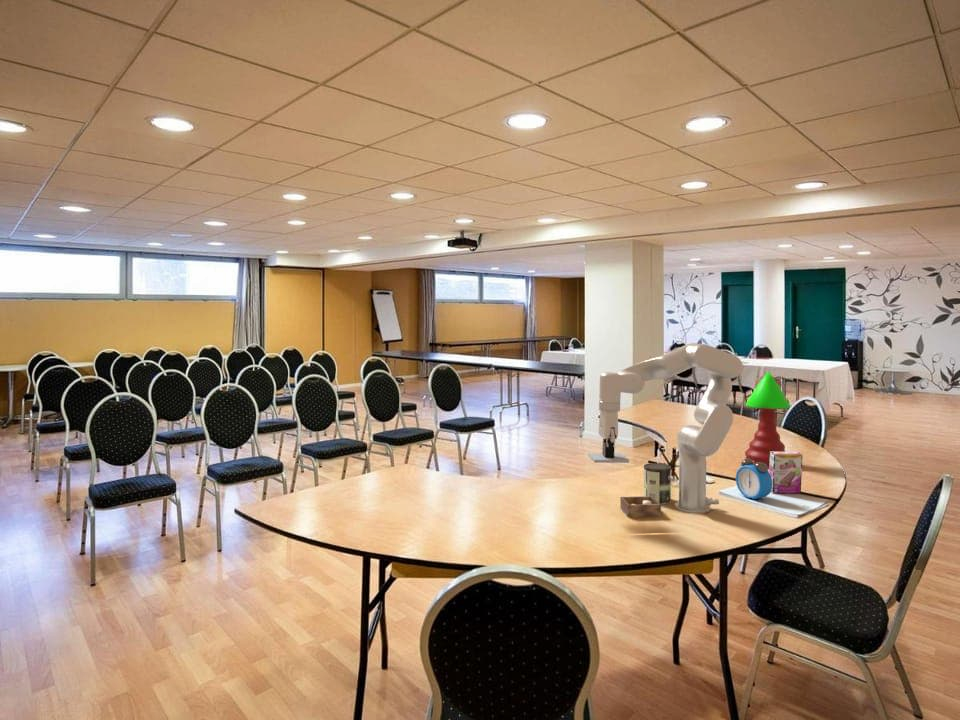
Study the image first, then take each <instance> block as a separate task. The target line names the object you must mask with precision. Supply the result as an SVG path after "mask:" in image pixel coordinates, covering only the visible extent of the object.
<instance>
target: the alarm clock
mask: <svg viewBox="0 0 960 720" xmlns="http://www.w3.org/2000/svg"><path fill="white" fill-rule="evenodd" d="M744 459H745V458H744ZM744 459H743V460H742V461H741V462H740V467H739V468H738V470H737V472H736V474H735V485H736V487H737V489H738V490H739V492H740V494H742V495H744V496H743V497H745V496H746V497H745V498H747V497H749V498H752V499H751V500H755V499H757V500H758V499H761V498H766V497H768V496H769V495H770V494H771V493H772V492H771V490H772V478H771V475H770V473H769V468H768V467H767V465H766V464H764V463H762V462H758V463H756V464H753V463H755V462H754V461H753V460H751V459H745V460H744ZM750 464H751V465H750ZM749 498H748V499H749Z"/></svg>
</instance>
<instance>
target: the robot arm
mask: <svg viewBox="0 0 960 720" xmlns="http://www.w3.org/2000/svg"><path fill="white" fill-rule="evenodd" d="M695 367H696V368H701V369H703V370H705V371H706V373H707V378H708V382H707V383H708V385H707V387H706V389H705V392H704V393H703V394H702V397H701V399H700V400H699V402H698V404H697V406H696V407H695V409H694V413H693V418H694V420H696V422H697V423H699V425H702V426H701V427H700V426H698V425H693V424H688V425H685V426H683V427H681V428H680V429H679V431H678V433H677V440H676V441H677V442H676V443H677V448H678V460H679V461H678V462H679V468H678V472H679V473H678V476H679V477H678V478H679V479H678V482H679V483H678V501H676V502H675V503H674V508H676V509H677V510H678V511H681V512H685V513H691V514H692V513H693V514H707V513H710V511H711V505H719V504H720V501H719V499H718V498H715V499H714V498H713V497H707V457H711V456H713V455H714V454H716V453H717V452H718V450H719V448H721V445H722V444H723V442H724V440H725V438H726V437H727V435H728V433H729V431H730V429H731V427H732V426H733V422H734V413H733V411H732V409H731V408H730V407H729V406H728V405H727V403H728V401H729V399H730V398H731V394H732V392H733V391H732V390H733V385H732V384H733V383H732V379H735V378H737V377H739V376H740V375H741V374H742V372H743V368H744V365H743V361H742V360H741V358H739V357H738V356H736V355H734V354H732V353H730V352H727V351H724V350H723V349H722V350H721V349H720V348H717V347H715V346H711V345H708V344H705V343H697V342H693V343H692V342H691V343H687V344H685V345H683V346H681V347H678V348H675V349H674V350H671V351H669V352H667V353H665V354H663V355H660V356H657V357H654V358H650V359H648V360H644V361H642V362H639V363H635V364H633V365H631V366H628V367H626V368H624V369H622V370H620V371H618V372H602V373H601V374H600V376H599V395H598V396H599V397H598V401H599V402H598V411H599V419H598V420H599V421H598V435H599V436H600V437H601V438H602V443H603V442H606V447H605V458H614V453H615V443H616V440H617V438H619V436H618V435H619V415H618V414H619V412H621V396H622V395H621V394H622V393H623V394H632V395H633V394H634V395H635V394H639V393H641V391H643V390H644V389H645V385H646V383H645V382H648V381H653V380H663V379H670V378H672V377H674V376H676V375H678V374H681V373H683V372H685V371H687V370H690V369H692V368H695ZM601 453H602V455H603V450H602V452H601Z"/></svg>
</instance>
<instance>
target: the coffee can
mask: <svg viewBox="0 0 960 720" xmlns="http://www.w3.org/2000/svg"><path fill="white" fill-rule="evenodd" d="M671 475H672V466H671V465H669V464H665V463H660V462H651V463H650V462H649V463H645V464H644V465H643V496H652V497H653V498H655V499H656V500H657V501H658V502H659V503H660V504H661V505H665V504H669V503H671V500H672V498H671V495H672V494H671V493H672V492H671V491H672V488H671V487H672V486H671V485H672V482H671V481H672V476H671Z"/></svg>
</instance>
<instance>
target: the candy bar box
mask: <svg viewBox="0 0 960 720" xmlns="http://www.w3.org/2000/svg"><path fill="white" fill-rule="evenodd" d="M802 471H803V454H802V453H800V452H798V451H785V452H772V451H771V452H770V466H769V468H768V472H769V473H770V475H771V478H772V490H771V492H770V493H772V492H773V493H772V494H786V493H787V494H791V495H794V494H795V495H796V494H799V495H801V494H802V477H803V475H802V474H803V473H802Z"/></svg>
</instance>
